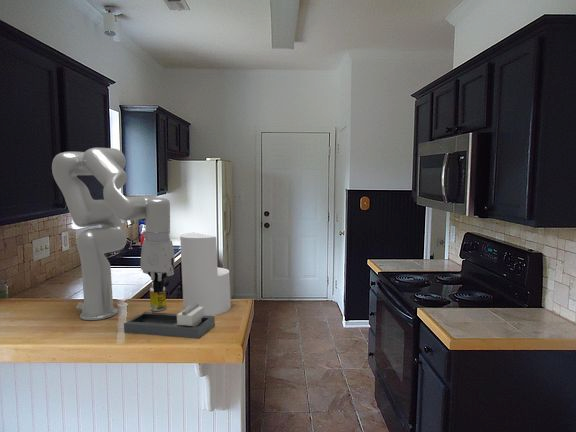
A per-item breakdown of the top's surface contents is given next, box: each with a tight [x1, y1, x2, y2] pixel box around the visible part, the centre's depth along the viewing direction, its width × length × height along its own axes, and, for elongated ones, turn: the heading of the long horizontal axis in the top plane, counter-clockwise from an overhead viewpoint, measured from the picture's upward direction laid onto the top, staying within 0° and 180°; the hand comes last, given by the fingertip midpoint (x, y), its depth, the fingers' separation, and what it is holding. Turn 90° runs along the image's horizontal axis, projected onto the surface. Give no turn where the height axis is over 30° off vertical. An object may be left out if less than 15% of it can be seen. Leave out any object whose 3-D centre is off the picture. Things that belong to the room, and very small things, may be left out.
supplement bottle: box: [149, 282, 167, 312], centre depth 161 cm, size 6×6×10 cm
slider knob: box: [176, 303, 204, 326], centre depth 138 cm, size 5×9×6 cm, turn 166°
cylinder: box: [179, 232, 232, 316], centre depth 159 cm, size 17×17×28 cm
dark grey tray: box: [123, 311, 216, 339], centre depth 140 cm, size 26×12×3 cm, turn 76°
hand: (158, 291), depth 140 cm, fingers closed
